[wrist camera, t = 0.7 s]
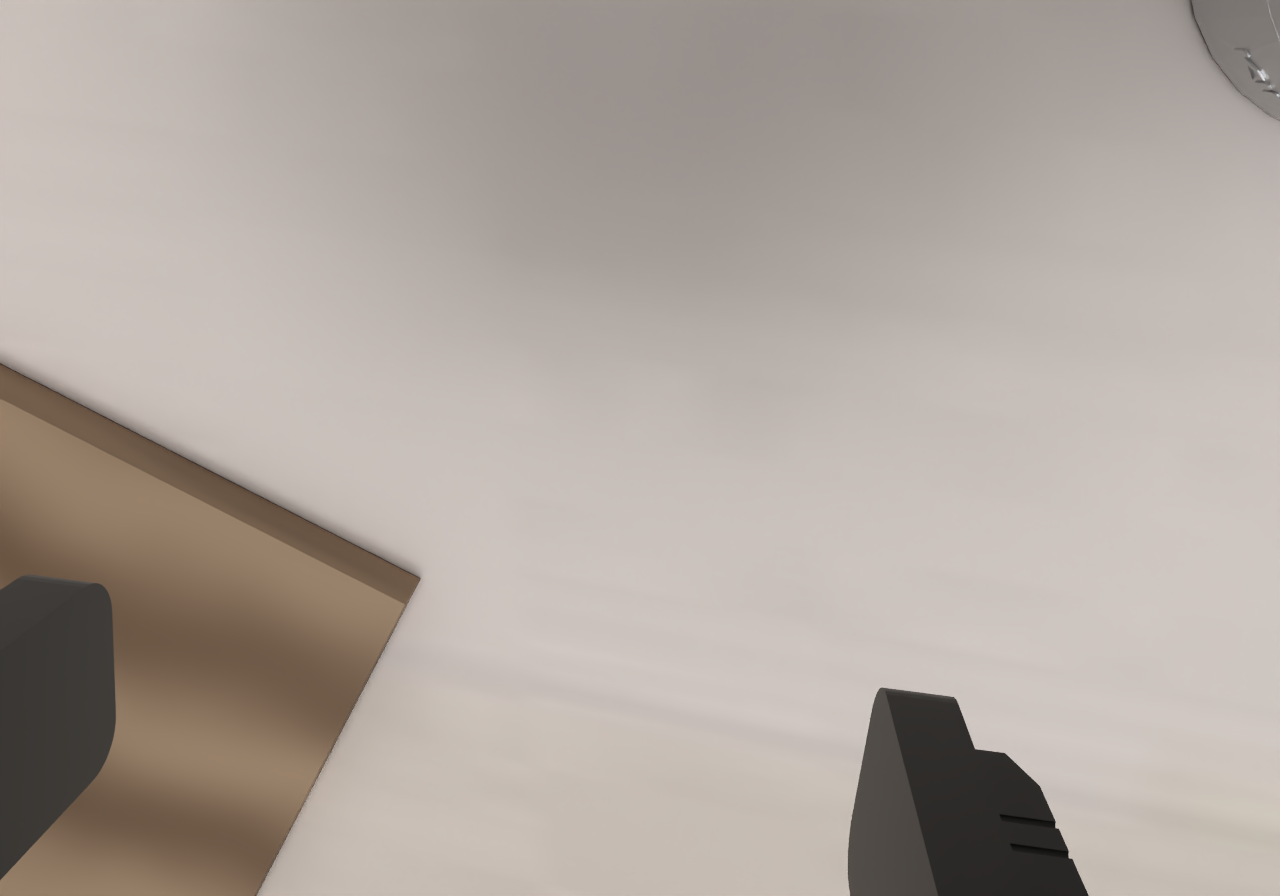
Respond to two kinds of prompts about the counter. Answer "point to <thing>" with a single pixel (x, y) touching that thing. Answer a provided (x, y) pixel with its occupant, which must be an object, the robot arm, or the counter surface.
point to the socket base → (186, 651)
